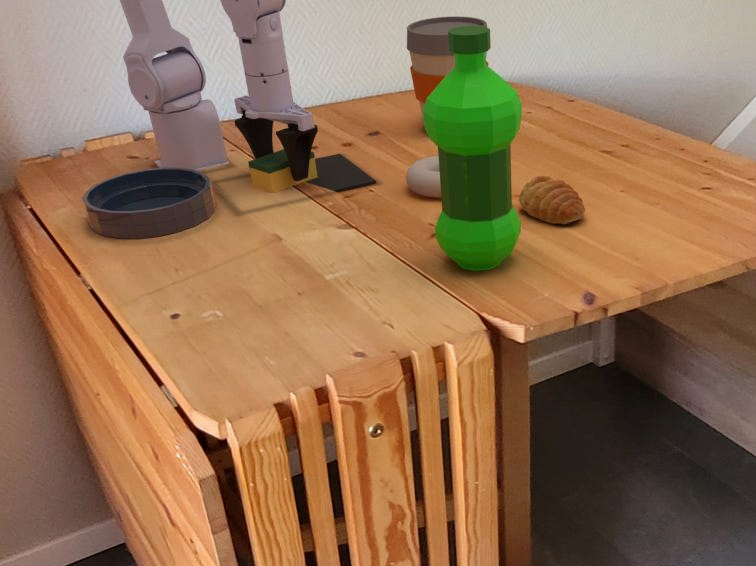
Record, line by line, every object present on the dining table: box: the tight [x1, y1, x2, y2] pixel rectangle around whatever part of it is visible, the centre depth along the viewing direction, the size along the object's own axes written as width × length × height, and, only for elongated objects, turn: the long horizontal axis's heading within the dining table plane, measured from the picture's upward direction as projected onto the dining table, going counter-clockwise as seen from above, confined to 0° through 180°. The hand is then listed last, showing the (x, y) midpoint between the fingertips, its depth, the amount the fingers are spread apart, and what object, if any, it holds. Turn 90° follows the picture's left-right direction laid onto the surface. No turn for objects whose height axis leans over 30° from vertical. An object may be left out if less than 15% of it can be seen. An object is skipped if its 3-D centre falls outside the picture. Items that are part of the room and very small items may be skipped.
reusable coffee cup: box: [406, 15, 489, 132], centre depth 149 cm, size 13×13×15 cm
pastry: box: [518, 175, 586, 225], centre depth 123 cm, size 9×7×4 cm
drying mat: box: [305, 153, 377, 193], centre depth 137 cm, size 20×14×1 cm
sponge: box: [247, 148, 317, 194], centre depth 135 cm, size 8×5×4 cm, turn 138°
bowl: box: [81, 167, 217, 240], centre depth 127 cm, size 16×16×4 cm
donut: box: [405, 155, 441, 199], centre depth 132 cm, size 10×4×10 cm
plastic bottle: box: [423, 26, 523, 272], centre depth 106 cm, size 10×10×25 cm
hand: (283, 173), depth 136 cm, fingers open, 7 cm apart
